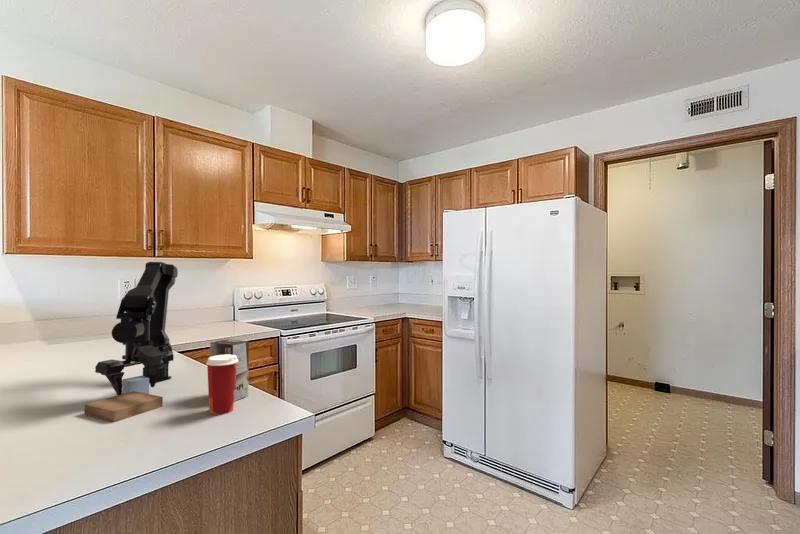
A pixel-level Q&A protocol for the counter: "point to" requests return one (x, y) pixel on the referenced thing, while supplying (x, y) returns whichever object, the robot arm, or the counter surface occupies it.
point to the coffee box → (242, 365)
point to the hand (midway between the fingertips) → (136, 391)
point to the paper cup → (221, 383)
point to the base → (123, 406)
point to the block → (136, 385)
